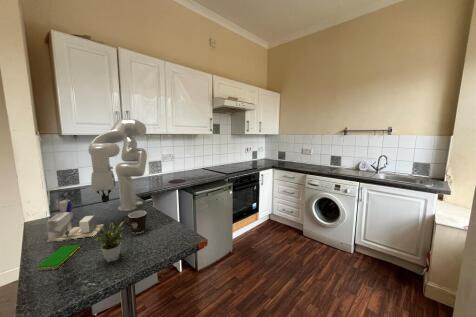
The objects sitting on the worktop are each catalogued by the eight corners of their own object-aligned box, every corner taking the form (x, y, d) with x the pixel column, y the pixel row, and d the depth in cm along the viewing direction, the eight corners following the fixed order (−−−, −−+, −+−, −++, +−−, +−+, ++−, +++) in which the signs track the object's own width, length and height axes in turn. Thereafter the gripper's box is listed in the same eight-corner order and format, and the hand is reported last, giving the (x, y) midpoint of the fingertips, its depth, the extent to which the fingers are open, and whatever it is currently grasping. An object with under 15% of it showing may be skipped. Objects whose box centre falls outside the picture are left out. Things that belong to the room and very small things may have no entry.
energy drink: (75, 219, 121) (73, 200, 119) (65, 223, 116) (62, 203, 114) (69, 217, 122) (67, 198, 120) (59, 221, 117) (56, 202, 115)
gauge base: (103, 225, 113) (102, 209, 112) (94, 237, 102) (93, 218, 100) (61, 230, 108) (59, 212, 106) (47, 242, 96) (44, 223, 95)
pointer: (69, 234, 101) (68, 225, 100) (67, 237, 99) (66, 227, 98) (67, 235, 101) (66, 225, 100) (65, 237, 99) (64, 227, 98)
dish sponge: (80, 249, 92) (80, 244, 92) (57, 270, 79) (57, 265, 78) (63, 250, 91) (62, 245, 91) (37, 272, 78) (36, 266, 77)
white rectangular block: (95, 225, 110) (94, 215, 109) (88, 234, 101) (87, 223, 100) (86, 226, 109) (85, 216, 108) (78, 235, 100) (76, 224, 99)
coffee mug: (151, 229, 110) (149, 212, 108) (137, 237, 102) (135, 219, 100) (136, 225, 114) (135, 208, 113) (122, 232, 107) (120, 214, 105)
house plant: (83, 275, 76) (78, 235, 73) (92, 254, 88) (88, 219, 86) (126, 265, 81) (123, 228, 79) (129, 247, 94) (126, 214, 91)
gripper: (119, 166, 110) (123, 197, 114) (88, 167, 106) (92, 200, 110) (115, 170, 103) (119, 203, 107) (81, 171, 99) (86, 206, 103)
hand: (105, 201), depth 109 cm, fingers closed
